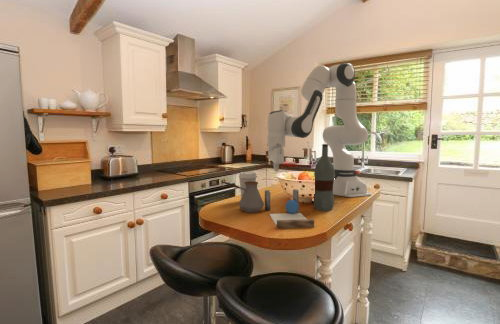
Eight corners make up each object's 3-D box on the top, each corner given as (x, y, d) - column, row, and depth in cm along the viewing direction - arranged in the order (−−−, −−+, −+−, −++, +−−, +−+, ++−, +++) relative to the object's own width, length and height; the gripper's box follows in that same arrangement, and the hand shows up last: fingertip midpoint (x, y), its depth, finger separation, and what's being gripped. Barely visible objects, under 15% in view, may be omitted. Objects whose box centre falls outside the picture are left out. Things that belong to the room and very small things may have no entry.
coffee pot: (252, 205, 138) (252, 175, 136) (269, 210, 130) (269, 178, 128) (216, 214, 124) (215, 180, 123) (232, 220, 116) (231, 184, 114)
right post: (297, 208, 133) (297, 189, 132) (298, 209, 130) (299, 190, 129) (291, 208, 133) (292, 189, 132) (293, 209, 130) (293, 190, 129)
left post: (269, 209, 131) (269, 190, 130) (270, 210, 129) (270, 191, 128) (264, 209, 131) (264, 190, 130) (265, 210, 129) (265, 191, 128)
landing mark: (300, 213, 125) (300, 212, 125) (310, 223, 111) (310, 223, 111) (269, 214, 123) (269, 214, 123) (275, 225, 109) (275, 224, 109)
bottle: (319, 204, 139) (321, 143, 135) (337, 208, 132) (339, 144, 129) (309, 208, 132) (310, 144, 129) (327, 212, 126) (329, 145, 122)
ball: (299, 213, 126) (294, 200, 129) (302, 209, 121) (297, 196, 123) (286, 216, 125) (282, 204, 128) (289, 213, 120) (285, 199, 122)
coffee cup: (240, 199, 150) (240, 171, 149) (258, 199, 149) (258, 171, 147) (237, 203, 141) (236, 174, 139) (256, 204, 140) (256, 174, 138)
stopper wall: (312, 225, 109) (312, 219, 109) (314, 227, 107) (314, 220, 107) (276, 226, 107) (276, 220, 107) (277, 228, 105) (277, 222, 105)
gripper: (287, 144, 130) (287, 174, 132) (278, 142, 151) (278, 168, 152) (274, 144, 130) (273, 174, 131) (266, 142, 150) (266, 168, 151)
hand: (276, 171), depth 142 cm, fingers closed
